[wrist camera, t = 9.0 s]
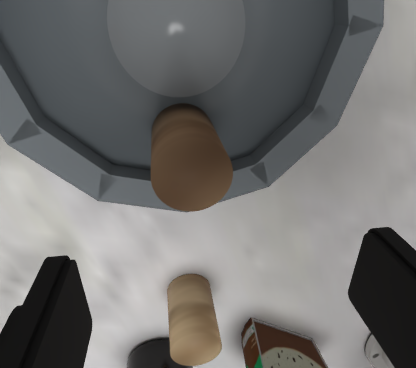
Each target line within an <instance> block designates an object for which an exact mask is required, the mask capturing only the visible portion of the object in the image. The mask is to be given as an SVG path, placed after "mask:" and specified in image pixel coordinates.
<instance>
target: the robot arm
mask: <svg viewBox="0 0 416 368" xmlns="http://www.w3.org/2000/svg"><path fill="white" fill-rule="evenodd" d="M348 295H349V299H350V301H351V303H352V304H353V306H354V307H355V309H356V310H357V312H358V313H359V315H360V316H361V318H362V319H363V321H364V322H365V324H366V325H367V327H368V328H369V330H370V331H371V333H372V335H371V336H370V337H369V339H368V341H367V344H366V348H365V352H366V356H367V358H368V360H369V361H370V363H371V364H372V366H373V367H375V368H416V250H415V249H414V248H412V247H411V246H410V245H409V244H408V243H407V242H406V241H405V240H404V239H403V238H402V237H401V236H399V235H398V234H397V233H396V232H395V231H394V230H393V229H391V228H389V227H383V228H372V229H370V230H369V231H368V233H366V234H365V235H364V237H363V241H362V244H361V248H360V251H359V255H358V258H357V262H356V265H355V269H354V272H353V275H352V279H351V282H350V286H349V289H348ZM91 331H92V318H91V314H90V311H89V307H88V303H87V300H86V296H85V292H84V289H83V285H82V282H81V278H80V274H79V271H78V267H77V263H76V261H75V260H70V258H69V257H68V256H55V257H47V258H46V259H45V260H44V262H43V264H42V266H41V268H40V270H39V272H38V274H37V276H36V279H35V281H34V283H33V285H32V287H31V289H30V291H29V293H28V295H27V297H26V299H25V301H24V303H23V305H21V306H17V307H16V308H14V309H13V311H12V312H11V314H10V316H9V318H8V320H7V322H6V324H5V326H4V327H3V329H2V331H1V333H0V368H83V367H84V362H85V358H86V353H87V349H88V345H89V340H90V336H91Z"/></svg>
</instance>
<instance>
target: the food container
mask: <svg viewBox="0 0 416 368" xmlns="http://www.w3.org/2000/svg"><path fill="white" fill-rule="evenodd" d="M241 336H242V347H243V353H244V359H245V364H246V368H328V366H327V365H326V363H325V361H324V359H323V357H322V355H321V354H320V352H319V350H318V348H317V346H316V344H315V342H314V341H313V339H312V338H309V337H306V336H304V335H301V334H298V333H295V332H292V331H289V330H286V329H283V328H280V327H278V326H275V325H272V324H269V323H266V322H263V321H260V320H257V319H254V318H250V320H249V321H248V322H247V323H246V324H245V327H244V329H243V331H242V334H241Z"/></svg>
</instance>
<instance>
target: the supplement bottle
mask: <svg viewBox="0 0 416 368" xmlns="http://www.w3.org/2000/svg"><path fill="white" fill-rule="evenodd" d="M127 368H193V366H185V365H181V364H178V363H176V362H175V361H174V360H173V359H172V358H171V355H170V340H154V341H150V342H147V343H144V344H142V345H141V346H139V347H138V348H136V349H135V350H134V351H133V352H132V353H131V355H130V357H129V359H128V363H127Z"/></svg>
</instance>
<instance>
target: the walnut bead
mask: <svg viewBox="0 0 416 368" xmlns="http://www.w3.org/2000/svg"><path fill="white" fill-rule="evenodd" d="M232 179H233V167H232V163H231V160H230V158H229V156H228V154H227V152H226V150H225V148H224V146H223V144H222V142H221V140H220V138H219V136H218V134H217V132H216V130H215V128H214V126H213V124H212V122H211V120H210V119H209V117H208V115H207V114H206V113H205V112H204V111H203V110H202V109H200V108H199V107H197V106H194V105H191V104H186V103H179V104H174V105H171V106H169V107H167V108H165V109H164V110H162V111H161V112H160V113H159V114H158V116H157V117H156V119H155V120H154V123H153V126H152V134H151V184H152V187H153V190H154V192H155V194H156V195H157V197H158V198H159V199H160V200H161V201H162V202H163V203H165V204H166V205H168V206H169V207H171V208H174V209H177V210H181V211H199V210H203V209H206V208H208V207H210V206H212V205H214V204H216V203H217V202H218V201H220V200H221V199H222V198H223V197H224V196H225V194H226V193H227V191H228V190H229V188H230V185H231V183H232Z"/></svg>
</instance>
